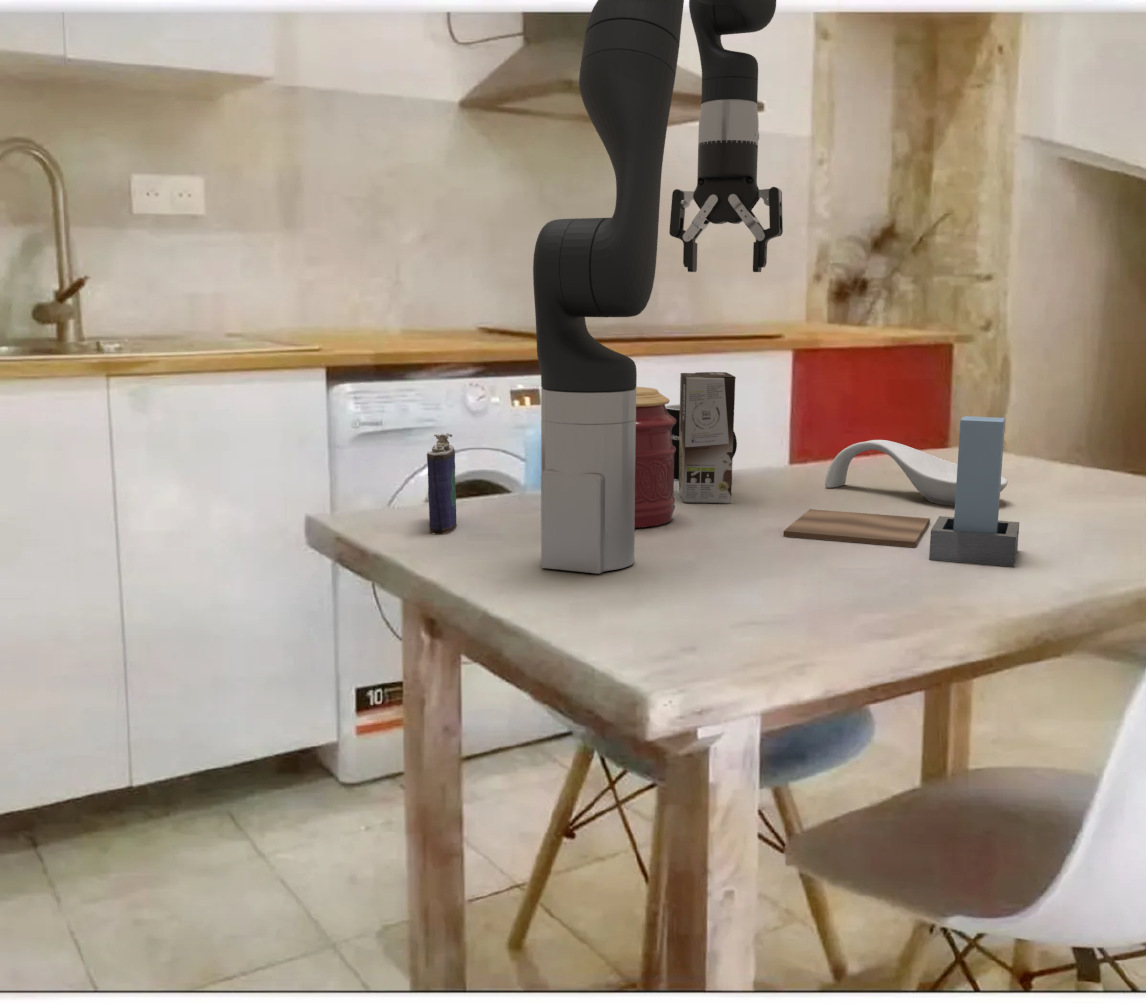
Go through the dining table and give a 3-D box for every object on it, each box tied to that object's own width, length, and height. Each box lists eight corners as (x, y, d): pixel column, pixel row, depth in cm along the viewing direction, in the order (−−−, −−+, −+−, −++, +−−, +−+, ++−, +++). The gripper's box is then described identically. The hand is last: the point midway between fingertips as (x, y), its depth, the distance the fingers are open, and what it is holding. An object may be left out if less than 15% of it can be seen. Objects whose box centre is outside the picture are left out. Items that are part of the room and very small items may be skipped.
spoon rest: (1018, 502, 150) (1022, 447, 148) (985, 515, 141) (989, 457, 139) (849, 482, 164) (852, 432, 163) (810, 494, 156) (812, 441, 154)
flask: (434, 518, 137) (433, 428, 135) (459, 518, 137) (458, 428, 135) (427, 534, 128) (425, 438, 126) (453, 534, 128) (452, 438, 126)
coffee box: (733, 503, 147) (736, 376, 144) (682, 503, 147) (684, 375, 144) (725, 491, 156) (728, 370, 153) (677, 491, 156) (679, 370, 153)
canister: (544, 523, 134) (544, 370, 131) (595, 505, 146) (596, 364, 142) (647, 534, 128) (649, 374, 125) (691, 514, 140) (694, 367, 136)
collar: (1013, 566, 114) (1015, 537, 113) (928, 559, 117) (930, 530, 116) (1017, 550, 121) (1019, 522, 120) (937, 543, 124) (939, 516, 123)
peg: (993, 561, 116) (1003, 422, 114) (951, 557, 118) (960, 420, 115) (995, 552, 120) (1005, 417, 117) (955, 549, 121) (963, 416, 119)
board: (914, 547, 122) (915, 542, 122) (783, 536, 127) (783, 531, 127) (929, 523, 135) (930, 518, 135) (809, 514, 140) (809, 509, 140)
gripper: (665, 139, 146) (663, 271, 148) (778, 135, 141) (774, 271, 143) (681, 147, 152) (678, 272, 155) (789, 142, 148) (784, 272, 150)
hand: (724, 271), depth 149 cm, fingers open, 8 cm apart
